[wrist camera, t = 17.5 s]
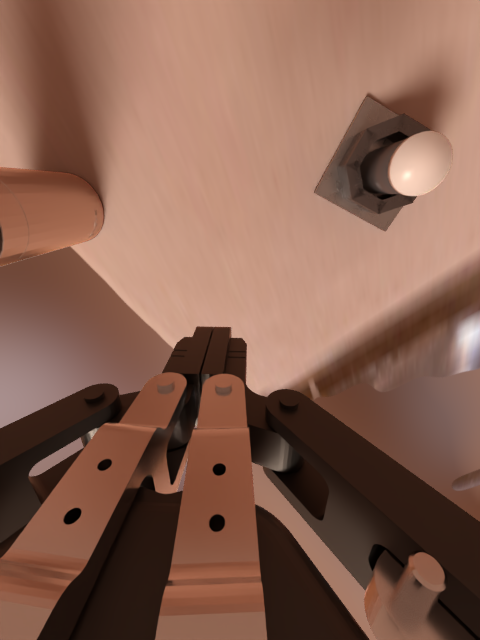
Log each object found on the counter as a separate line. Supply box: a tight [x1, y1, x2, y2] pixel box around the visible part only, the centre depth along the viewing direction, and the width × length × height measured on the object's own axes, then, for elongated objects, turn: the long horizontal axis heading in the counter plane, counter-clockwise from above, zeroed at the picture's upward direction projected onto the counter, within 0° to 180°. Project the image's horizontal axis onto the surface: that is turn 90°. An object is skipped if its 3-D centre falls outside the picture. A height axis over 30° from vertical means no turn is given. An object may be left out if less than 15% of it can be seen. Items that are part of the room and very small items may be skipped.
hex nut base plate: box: [314, 96, 431, 231], centre depth 33 cm, size 11×11×4 cm
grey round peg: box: [360, 131, 453, 196], centre depth 30 cm, size 5×5×10 cm
